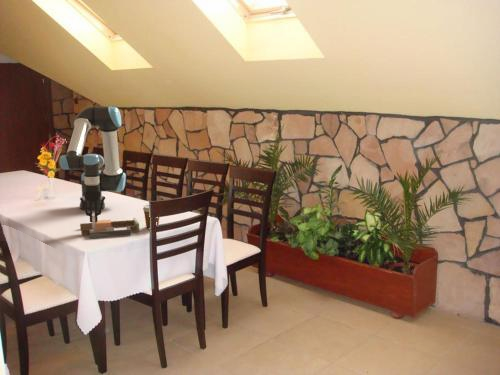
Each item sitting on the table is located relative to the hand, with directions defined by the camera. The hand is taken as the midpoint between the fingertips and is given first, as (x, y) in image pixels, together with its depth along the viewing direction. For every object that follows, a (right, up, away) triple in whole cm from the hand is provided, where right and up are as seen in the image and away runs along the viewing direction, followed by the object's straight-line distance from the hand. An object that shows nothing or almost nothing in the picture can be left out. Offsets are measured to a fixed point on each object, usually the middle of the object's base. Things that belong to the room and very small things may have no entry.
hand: (93, 227), depth 274 cm
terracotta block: (+4, -2, +2) cm, 5 cm away
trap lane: (+8, -2, 0) cm, 9 cm away
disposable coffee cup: (+29, -1, +10) cm, 31 cm away
